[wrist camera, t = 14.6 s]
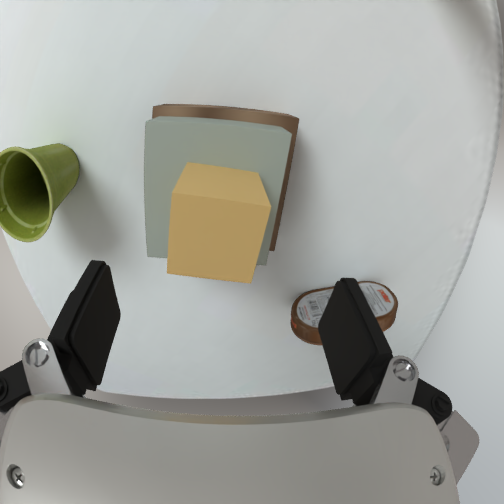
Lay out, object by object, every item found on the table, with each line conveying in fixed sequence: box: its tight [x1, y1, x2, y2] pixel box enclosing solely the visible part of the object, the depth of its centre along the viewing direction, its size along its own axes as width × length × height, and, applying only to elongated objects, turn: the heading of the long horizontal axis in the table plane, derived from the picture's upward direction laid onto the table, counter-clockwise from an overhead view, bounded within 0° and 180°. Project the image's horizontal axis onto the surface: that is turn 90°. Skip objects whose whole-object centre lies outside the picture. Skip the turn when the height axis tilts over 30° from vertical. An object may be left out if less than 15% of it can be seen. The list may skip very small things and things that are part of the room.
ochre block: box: [167, 162, 271, 283], centre depth 17 cm, size 5×5×6 cm
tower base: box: [152, 104, 299, 251], centre depth 25 cm, size 12×13×5 cm
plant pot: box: [0, 143, 79, 242], centre depth 20 cm, size 9×9×9 cm
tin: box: [291, 281, 398, 345], centre depth 34 cm, size 15×3×8 cm, turn 97°
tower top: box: [144, 116, 292, 265], centre depth 21 cm, size 10×11×4 cm
